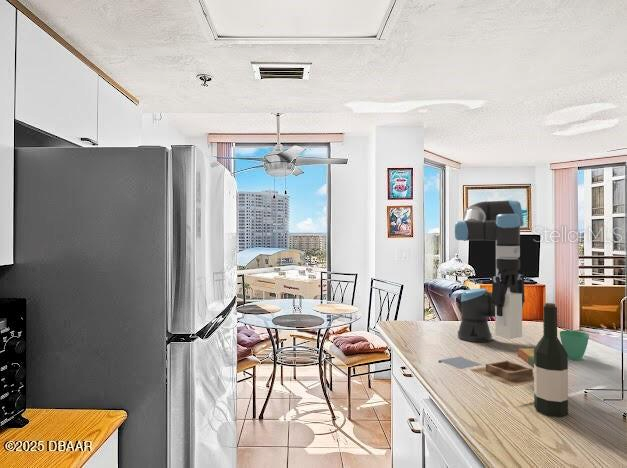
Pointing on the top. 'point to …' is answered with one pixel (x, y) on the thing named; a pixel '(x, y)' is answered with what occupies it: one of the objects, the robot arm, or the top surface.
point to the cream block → (511, 317)
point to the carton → (527, 356)
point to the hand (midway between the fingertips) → (508, 324)
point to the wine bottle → (550, 369)
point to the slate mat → (459, 362)
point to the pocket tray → (507, 373)
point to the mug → (574, 343)
